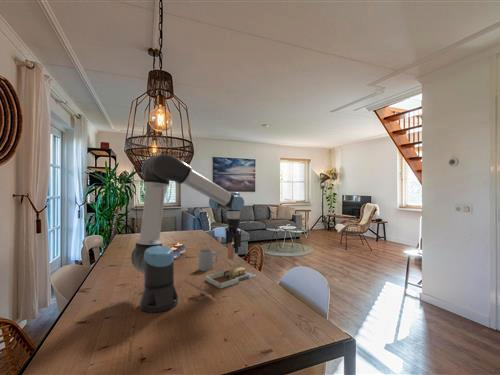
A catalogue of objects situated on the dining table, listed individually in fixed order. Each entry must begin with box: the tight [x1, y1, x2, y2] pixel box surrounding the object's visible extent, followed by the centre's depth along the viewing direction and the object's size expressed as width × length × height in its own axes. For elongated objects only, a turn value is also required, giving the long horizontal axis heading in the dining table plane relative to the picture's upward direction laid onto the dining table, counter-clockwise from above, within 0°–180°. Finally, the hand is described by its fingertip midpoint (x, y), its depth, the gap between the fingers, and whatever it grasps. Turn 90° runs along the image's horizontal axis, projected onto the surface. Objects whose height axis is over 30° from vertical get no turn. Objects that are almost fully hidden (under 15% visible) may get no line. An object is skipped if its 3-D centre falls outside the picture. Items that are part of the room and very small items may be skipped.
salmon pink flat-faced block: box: [227, 241, 234, 260], centre depth 149 cm, size 4×4×9 cm
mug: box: [198, 248, 219, 272], centre depth 154 cm, size 12×8×11 cm
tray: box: [204, 271, 240, 289], centre depth 129 cm, size 11×14×3 cm
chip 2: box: [235, 266, 247, 276], centre depth 136 cm, size 4×4×4 cm
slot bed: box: [224, 270, 258, 282], centre depth 137 cm, size 14×10×3 cm
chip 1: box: [228, 268, 239, 280], centre depth 134 cm, size 4×4×4 cm
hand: (232, 257), depth 149 cm, fingers closed on salmon pink flat-faced block, 4 cm apart
